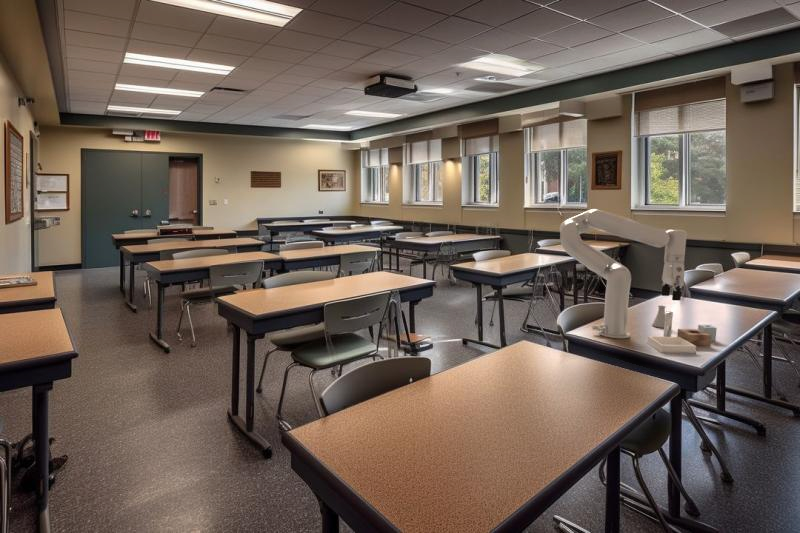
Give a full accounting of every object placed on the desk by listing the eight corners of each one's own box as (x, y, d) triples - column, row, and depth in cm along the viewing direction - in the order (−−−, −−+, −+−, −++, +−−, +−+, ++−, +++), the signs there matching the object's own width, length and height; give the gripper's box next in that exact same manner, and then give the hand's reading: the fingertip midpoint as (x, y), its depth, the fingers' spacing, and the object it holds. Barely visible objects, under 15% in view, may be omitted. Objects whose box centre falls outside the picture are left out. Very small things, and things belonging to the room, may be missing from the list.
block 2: (703, 341, 208) (704, 327, 208) (697, 337, 213) (698, 324, 213) (715, 341, 208) (716, 327, 207) (708, 338, 213) (710, 324, 212)
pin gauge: (665, 339, 210) (667, 312, 208) (662, 337, 212) (664, 311, 211) (671, 339, 209) (674, 312, 208) (668, 338, 212) (671, 311, 211)
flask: (669, 326, 233) (671, 305, 232) (668, 329, 227) (669, 308, 226) (652, 323, 237) (654, 304, 236) (651, 327, 231) (652, 306, 230)
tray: (661, 352, 191) (662, 345, 191) (647, 343, 204) (647, 336, 204) (695, 353, 191) (696, 346, 190) (679, 344, 203) (679, 337, 203)
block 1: (687, 346, 200) (688, 334, 200) (676, 340, 209) (677, 328, 208) (710, 346, 200) (711, 335, 199) (698, 340, 209) (699, 329, 208)
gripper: (693, 261, 197) (690, 302, 199) (673, 256, 214) (670, 294, 217) (674, 261, 198) (671, 301, 200) (656, 256, 215) (652, 293, 217)
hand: (670, 297), depth 208 cm, fingers open, 9 cm apart
